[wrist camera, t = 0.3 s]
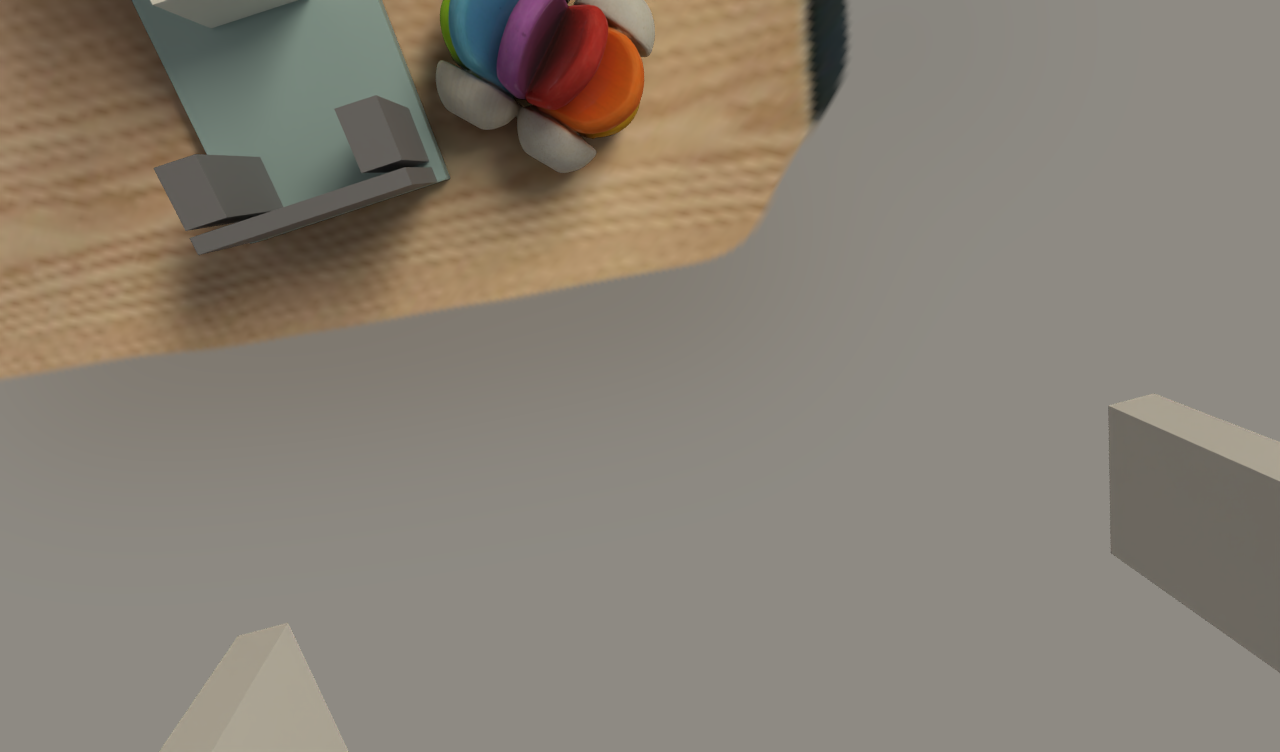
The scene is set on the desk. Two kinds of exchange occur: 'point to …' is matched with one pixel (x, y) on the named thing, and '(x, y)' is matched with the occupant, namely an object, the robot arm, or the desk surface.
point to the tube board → (291, 118)
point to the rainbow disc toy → (546, 70)
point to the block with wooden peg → (217, 9)
